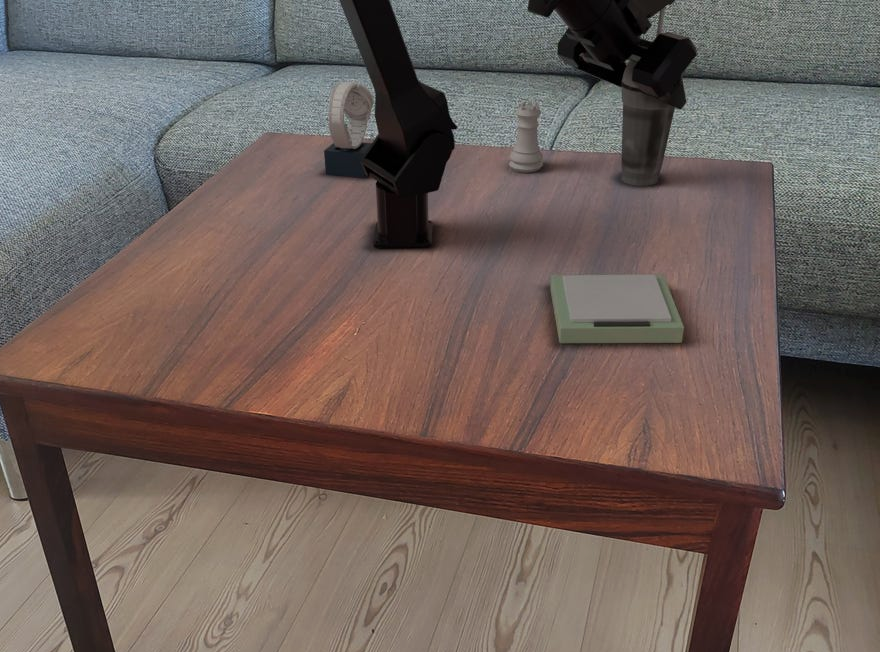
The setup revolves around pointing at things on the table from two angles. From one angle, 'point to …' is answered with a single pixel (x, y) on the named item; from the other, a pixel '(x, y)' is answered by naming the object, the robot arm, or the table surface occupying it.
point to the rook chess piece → (527, 140)
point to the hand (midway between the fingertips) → (657, 96)
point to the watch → (347, 145)
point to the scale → (615, 309)
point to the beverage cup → (643, 130)
